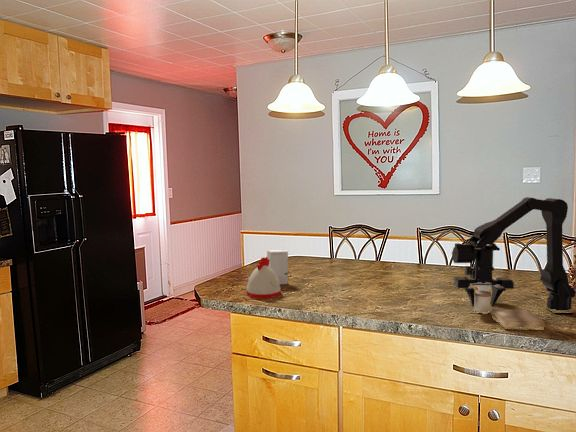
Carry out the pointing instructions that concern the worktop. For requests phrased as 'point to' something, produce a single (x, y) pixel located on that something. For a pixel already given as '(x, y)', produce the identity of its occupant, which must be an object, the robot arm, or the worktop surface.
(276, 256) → the skincare box
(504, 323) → the block
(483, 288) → the lightbulb
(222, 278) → the worktop surface
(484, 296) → the spice tin
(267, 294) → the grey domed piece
